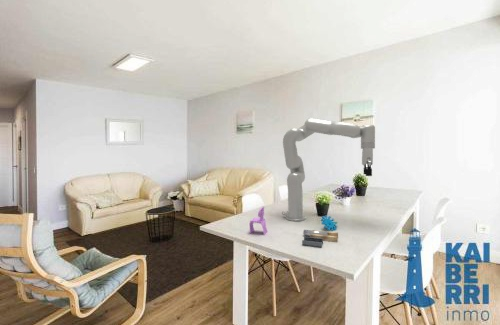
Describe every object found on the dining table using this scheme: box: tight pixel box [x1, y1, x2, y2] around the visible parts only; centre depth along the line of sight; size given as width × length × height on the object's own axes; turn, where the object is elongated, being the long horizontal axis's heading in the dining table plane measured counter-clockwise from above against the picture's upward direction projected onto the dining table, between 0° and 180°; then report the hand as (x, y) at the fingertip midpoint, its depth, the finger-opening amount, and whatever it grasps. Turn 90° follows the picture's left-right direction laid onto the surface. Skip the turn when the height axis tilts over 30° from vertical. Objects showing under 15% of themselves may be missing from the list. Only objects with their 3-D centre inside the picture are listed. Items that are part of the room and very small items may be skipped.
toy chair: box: [249, 206, 269, 236], centre depth 140 cm, size 8×9×15 cm
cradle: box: [301, 235, 324, 249], centre depth 121 cm, size 9×7×3 cm
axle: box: [302, 229, 329, 237], centre depth 131 cm, size 12×3×3 cm, turn 68°
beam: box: [309, 229, 339, 243], centre depth 129 cm, size 13×8×3 cm, turn 68°
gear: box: [320, 214, 339, 232], centre depth 145 cm, size 11×6×10 cm
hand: (367, 175), depth 148 cm, fingers open, 9 cm apart
